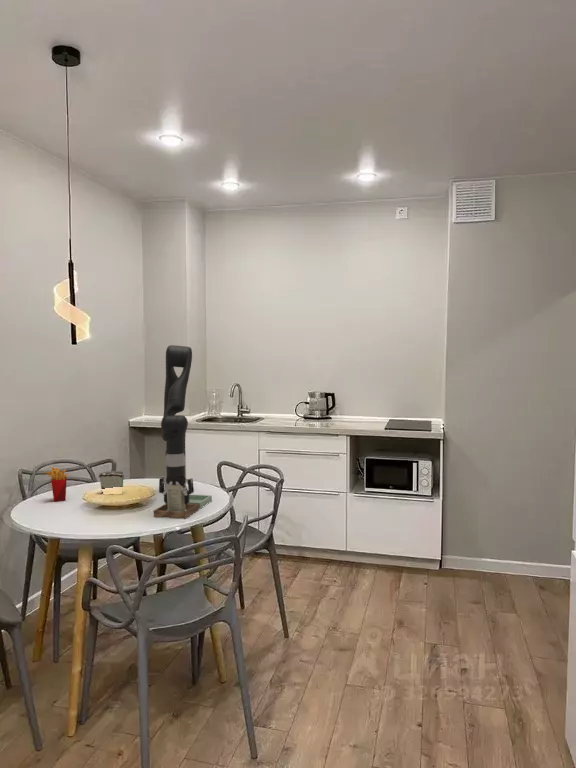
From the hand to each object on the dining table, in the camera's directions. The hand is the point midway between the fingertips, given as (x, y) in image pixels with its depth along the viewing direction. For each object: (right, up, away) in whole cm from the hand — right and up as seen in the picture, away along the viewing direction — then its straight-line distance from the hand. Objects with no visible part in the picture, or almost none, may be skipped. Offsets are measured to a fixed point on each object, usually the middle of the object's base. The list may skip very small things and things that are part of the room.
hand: (176, 503), depth 246 cm
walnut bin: (0, -4, 0) cm, 4 cm away
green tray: (+3, -3, +15) cm, 16 cm away
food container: (-36, -3, +37) cm, 52 cm away
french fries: (-58, -4, +24) cm, 63 cm away
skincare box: (0, -4, 0) cm, 4 cm away
